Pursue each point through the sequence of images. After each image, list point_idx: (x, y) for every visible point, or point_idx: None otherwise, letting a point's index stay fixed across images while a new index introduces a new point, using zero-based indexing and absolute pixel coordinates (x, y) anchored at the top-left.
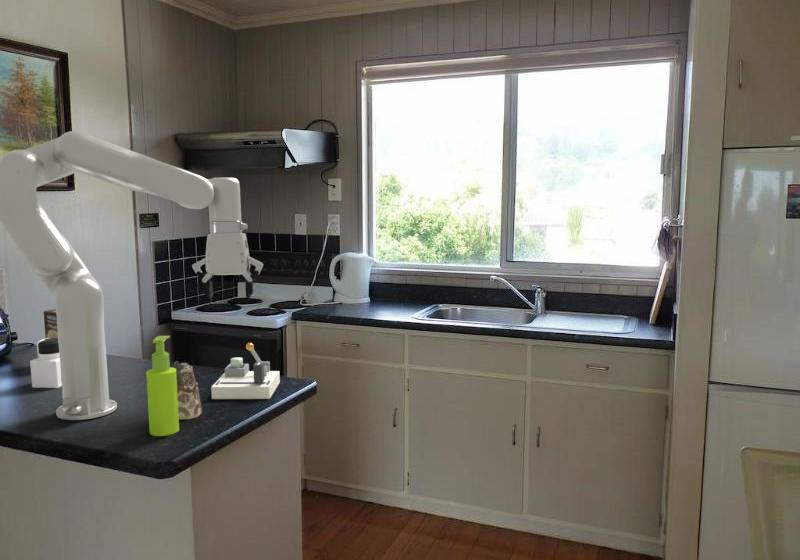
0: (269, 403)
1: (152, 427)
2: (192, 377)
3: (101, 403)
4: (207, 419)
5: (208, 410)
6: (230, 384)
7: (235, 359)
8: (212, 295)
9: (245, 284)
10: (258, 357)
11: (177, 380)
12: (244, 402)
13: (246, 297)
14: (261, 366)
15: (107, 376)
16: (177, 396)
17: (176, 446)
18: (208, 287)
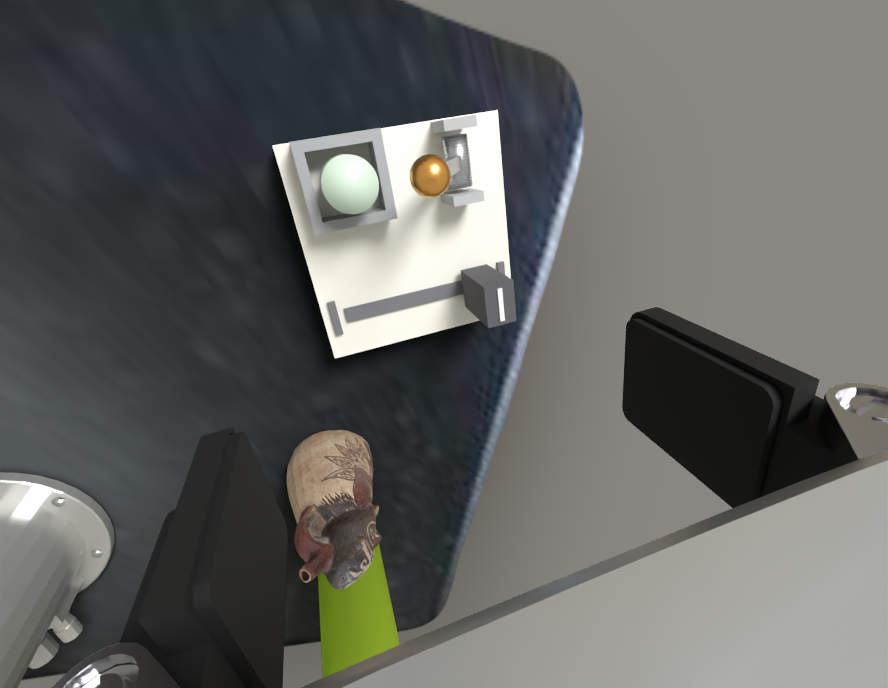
0: (507, 334)
1: None
2: (377, 543)
3: (77, 564)
4: (403, 469)
5: (374, 422)
6: (385, 319)
7: (352, 200)
8: (247, 449)
9: (728, 503)
10: (452, 167)
11: (308, 524)
12: (440, 343)
13: (626, 411)
14: (513, 319)
15: (8, 596)
16: (388, 599)
17: (414, 582)
18: (275, 649)
